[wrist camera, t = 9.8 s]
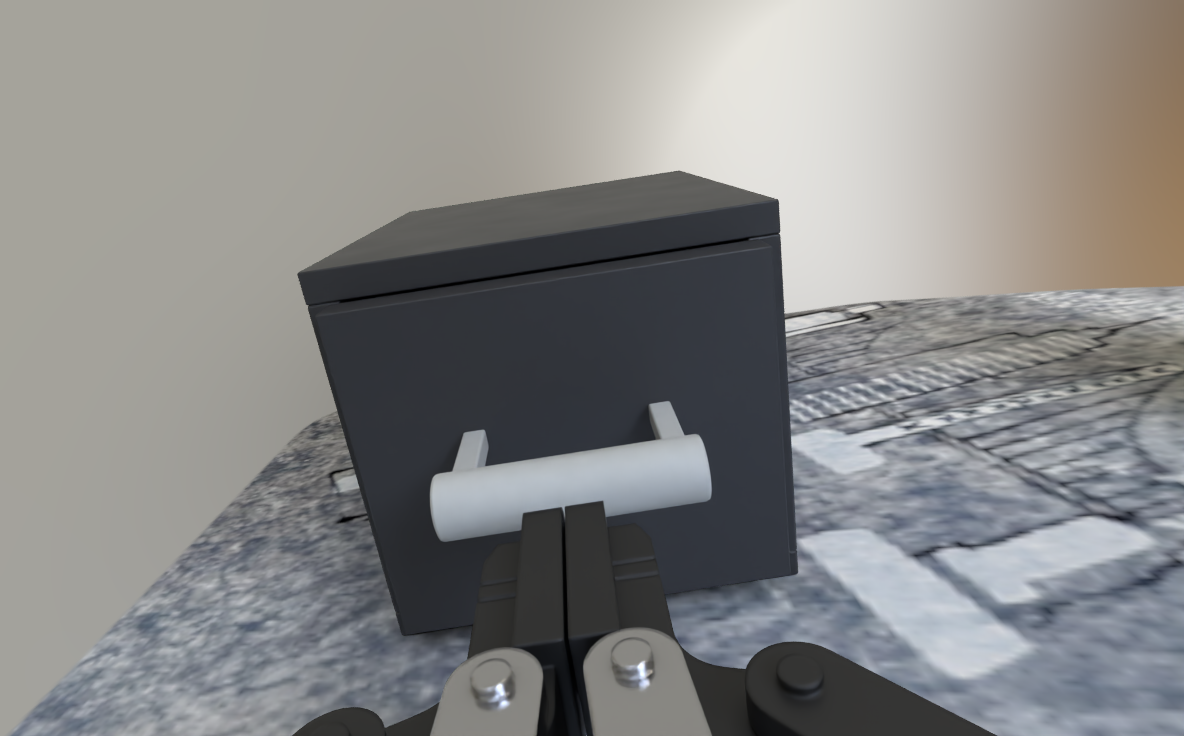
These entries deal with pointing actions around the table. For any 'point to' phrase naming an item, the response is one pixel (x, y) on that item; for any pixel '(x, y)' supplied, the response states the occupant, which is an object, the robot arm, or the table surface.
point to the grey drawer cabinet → (551, 255)
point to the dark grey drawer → (569, 416)
